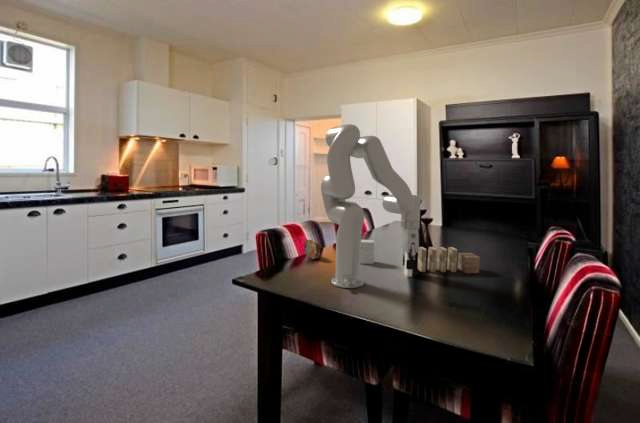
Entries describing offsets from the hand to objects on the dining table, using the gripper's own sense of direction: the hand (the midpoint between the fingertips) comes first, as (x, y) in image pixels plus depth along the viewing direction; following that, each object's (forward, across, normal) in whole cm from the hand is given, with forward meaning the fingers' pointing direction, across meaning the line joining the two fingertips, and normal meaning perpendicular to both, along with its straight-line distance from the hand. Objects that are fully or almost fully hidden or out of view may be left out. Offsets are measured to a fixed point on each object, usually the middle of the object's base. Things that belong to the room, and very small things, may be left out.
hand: (408, 266), depth 153 cm
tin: (+4, +30, +40) cm, 50 cm away
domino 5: (+4, +7, -22) cm, 23 cm away
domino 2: (+4, +7, -8) cm, 11 cm away
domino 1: (+3, 0, 0) cm, 3 cm away
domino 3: (+4, +7, -12) cm, 15 cm away
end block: (+3, +7, -29) cm, 30 cm away
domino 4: (+4, +7, -17) cm, 19 cm away
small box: (+4, +20, +15) cm, 25 cm away
